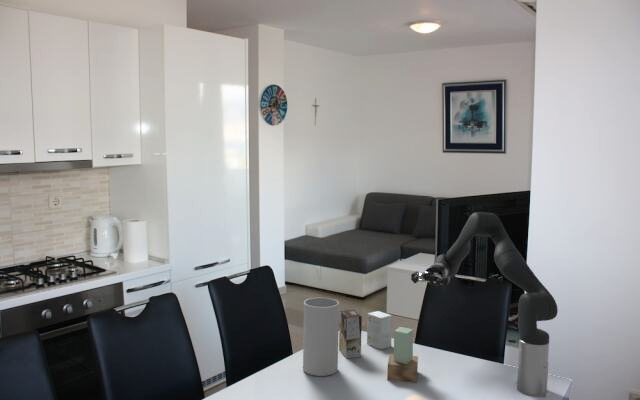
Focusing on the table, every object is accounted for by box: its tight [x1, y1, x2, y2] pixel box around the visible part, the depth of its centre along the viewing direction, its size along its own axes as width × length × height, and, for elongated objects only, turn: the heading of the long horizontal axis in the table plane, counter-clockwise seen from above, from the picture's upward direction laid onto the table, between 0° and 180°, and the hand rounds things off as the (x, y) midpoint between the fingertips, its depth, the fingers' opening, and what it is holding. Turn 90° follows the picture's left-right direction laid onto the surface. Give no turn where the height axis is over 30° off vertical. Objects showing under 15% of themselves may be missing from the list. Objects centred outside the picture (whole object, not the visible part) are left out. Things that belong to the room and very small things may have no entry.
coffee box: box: [338, 309, 363, 359], centre depth 218 cm, size 9×6×16 cm
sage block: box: [393, 326, 414, 364], centre depth 197 cm, size 5×5×11 cm
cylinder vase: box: [302, 297, 340, 377], centre depth 201 cm, size 12×12×25 cm
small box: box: [366, 310, 393, 350], centre depth 228 cm, size 8×6×13 cm
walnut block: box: [386, 353, 419, 384], centre depth 198 cm, size 10×10×6 cm
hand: (425, 282), depth 211 cm, fingers open, 8 cm apart
